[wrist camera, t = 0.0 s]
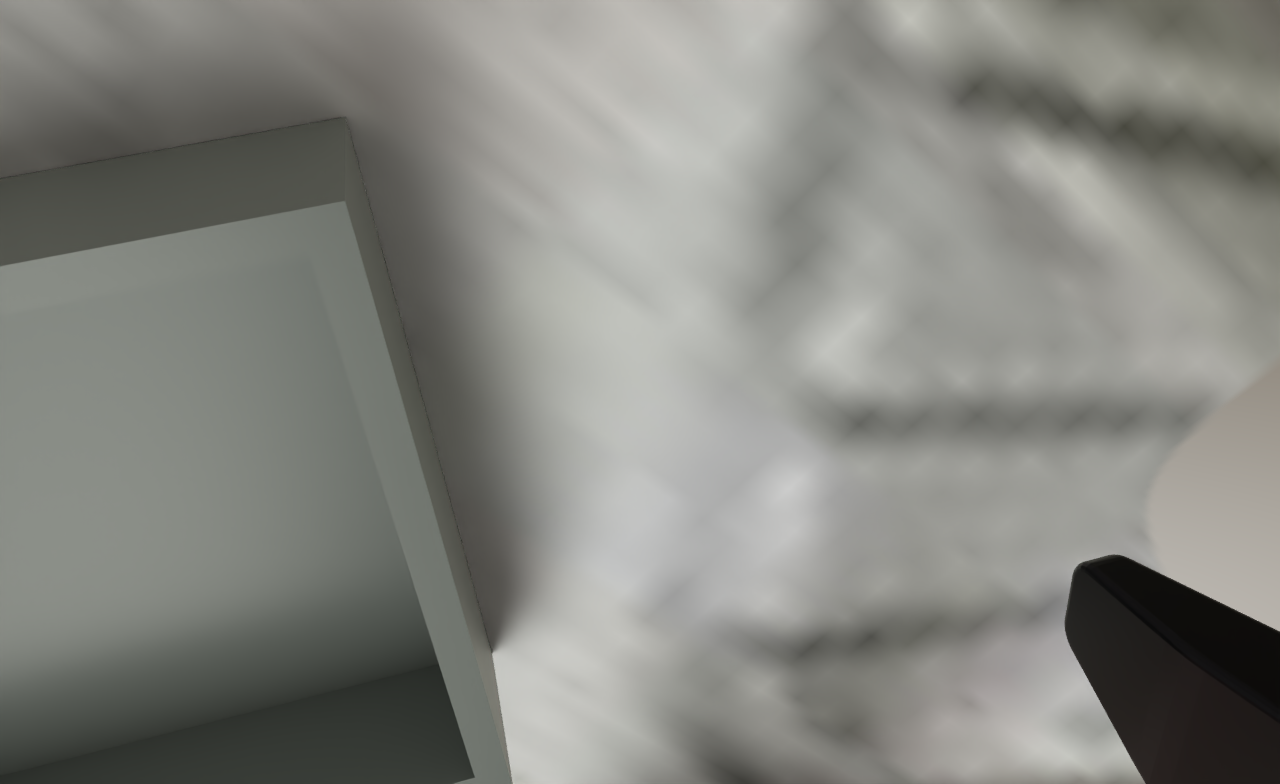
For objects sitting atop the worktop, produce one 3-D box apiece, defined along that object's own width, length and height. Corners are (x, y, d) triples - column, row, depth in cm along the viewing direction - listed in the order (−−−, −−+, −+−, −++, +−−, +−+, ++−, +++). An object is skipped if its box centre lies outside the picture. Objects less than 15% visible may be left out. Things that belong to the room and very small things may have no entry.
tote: (492, 655, 29) (513, 788, 25) (-97, 805, 27) (-168, 976, 23) (345, 117, 20) (344, 200, 17) (-542, 276, 18) (-771, 412, 14)
